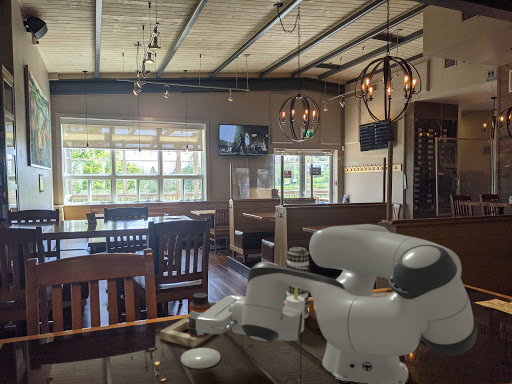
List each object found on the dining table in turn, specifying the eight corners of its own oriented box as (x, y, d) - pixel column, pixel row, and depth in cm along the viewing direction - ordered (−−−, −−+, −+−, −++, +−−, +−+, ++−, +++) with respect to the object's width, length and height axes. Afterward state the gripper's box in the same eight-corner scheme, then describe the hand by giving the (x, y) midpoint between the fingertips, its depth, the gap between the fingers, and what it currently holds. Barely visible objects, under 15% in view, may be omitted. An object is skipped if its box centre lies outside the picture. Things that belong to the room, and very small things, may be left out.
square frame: (217, 332, 128) (217, 324, 128) (194, 348, 117) (194, 339, 117) (185, 324, 134) (185, 317, 134) (160, 339, 123) (160, 331, 122)
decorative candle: (303, 321, 139) (304, 251, 138) (280, 316, 144) (281, 248, 142) (313, 313, 147) (314, 247, 145) (291, 308, 152) (292, 244, 150)
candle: (283, 331, 130) (284, 287, 129) (287, 324, 136) (288, 282, 135) (301, 334, 128) (302, 289, 127) (305, 327, 134) (306, 284, 133)
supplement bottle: (205, 340, 106) (207, 299, 105) (185, 337, 107) (186, 297, 106) (212, 331, 112) (213, 292, 111) (193, 329, 113) (193, 290, 112)
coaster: (227, 355, 113) (227, 352, 113) (206, 372, 103) (206, 370, 103) (196, 346, 118) (196, 344, 118) (172, 362, 108) (172, 360, 108)
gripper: (226, 343, 95) (177, 334, 100) (255, 315, 114) (213, 308, 119) (227, 318, 95) (177, 310, 99) (256, 294, 114) (213, 288, 119)
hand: (197, 309), depth 109 cm, fingers closed on supplement bottle, 6 cm apart
